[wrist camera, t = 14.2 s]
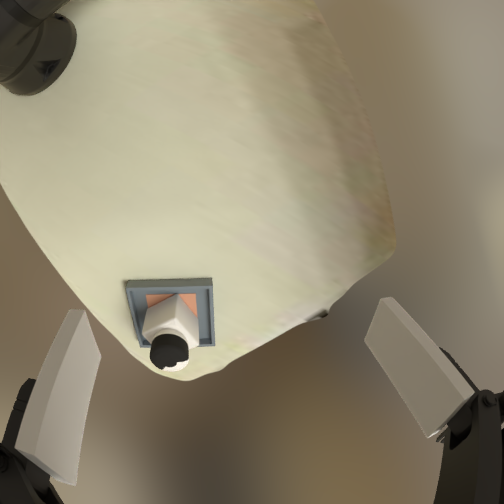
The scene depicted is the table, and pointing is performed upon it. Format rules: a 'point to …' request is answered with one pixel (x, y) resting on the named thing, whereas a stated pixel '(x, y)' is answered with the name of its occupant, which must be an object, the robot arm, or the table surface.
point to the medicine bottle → (171, 333)
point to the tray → (155, 291)
